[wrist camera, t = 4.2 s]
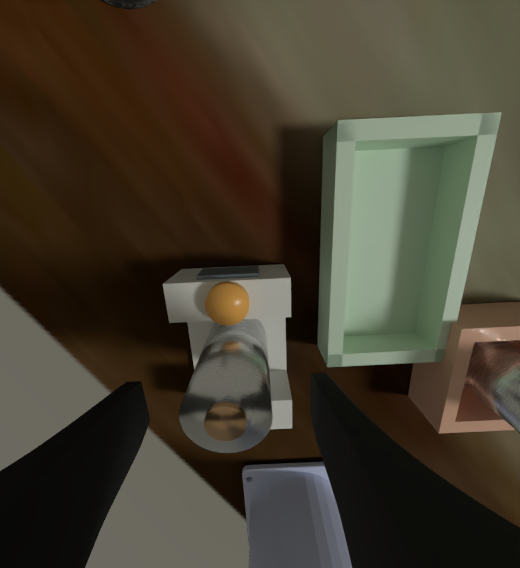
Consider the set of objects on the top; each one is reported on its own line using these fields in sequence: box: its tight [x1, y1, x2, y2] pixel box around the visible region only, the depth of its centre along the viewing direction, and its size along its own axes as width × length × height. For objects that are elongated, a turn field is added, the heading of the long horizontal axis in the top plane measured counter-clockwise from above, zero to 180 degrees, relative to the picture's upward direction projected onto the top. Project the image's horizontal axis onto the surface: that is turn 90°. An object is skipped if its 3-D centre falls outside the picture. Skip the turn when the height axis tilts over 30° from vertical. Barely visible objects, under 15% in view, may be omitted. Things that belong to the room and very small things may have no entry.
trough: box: [318, 112, 502, 367], centre depth 13 cm, size 12×7×2 cm, turn 3°
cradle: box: [163, 264, 292, 429], centre depth 14 cm, size 9×6×4 cm, turn 3°
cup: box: [408, 302, 520, 433], centre depth 15 cm, size 7×7×3 cm
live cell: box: [179, 319, 273, 453], centre depth 12 cm, size 4×4×6 cm
